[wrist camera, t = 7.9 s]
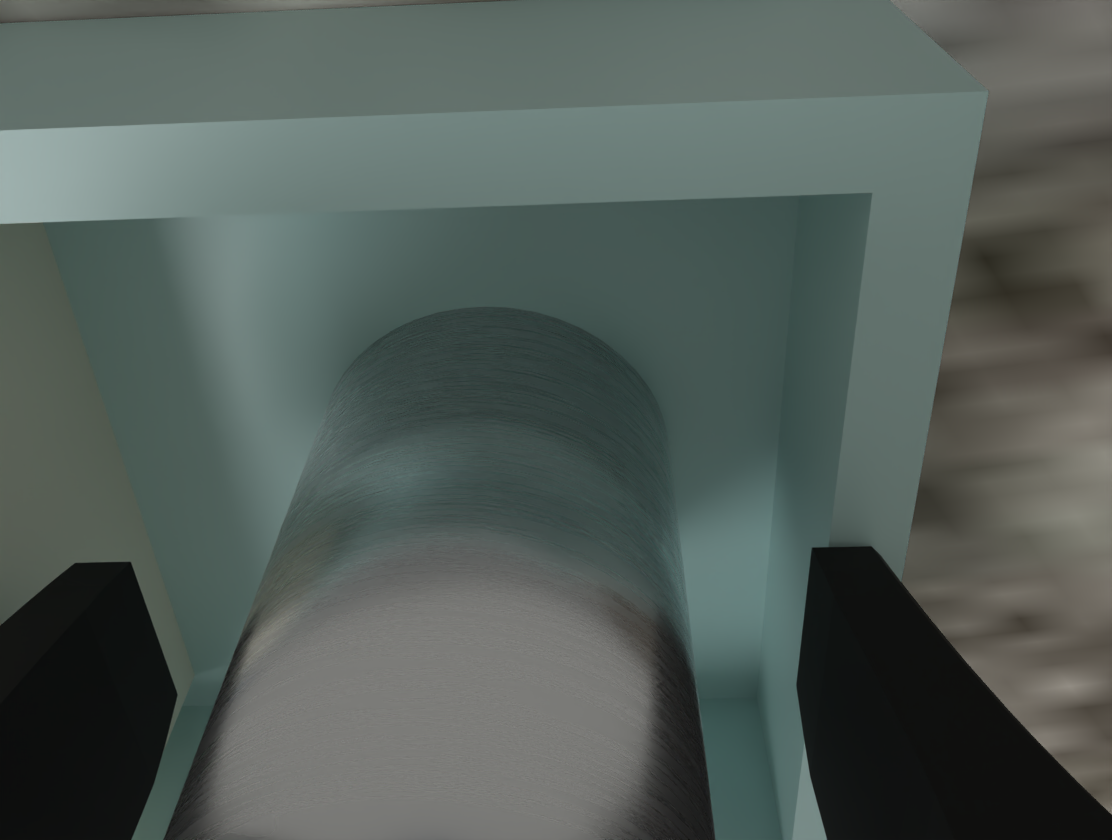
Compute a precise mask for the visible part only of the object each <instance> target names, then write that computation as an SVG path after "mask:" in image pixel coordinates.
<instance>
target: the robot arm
mask: <svg viewBox="0 0 1112 840" xmlns="http://www.w3.org/2000/svg"><path fill="white" fill-rule="evenodd" d="M796 688H797V695H798V701H799V708H800V715H801V722H802V729H803V736H804V742H805V748H806V754H807V760H808V766H809V773H810V778H811V782H812V785H813V789H814V793H815V797H816V801H817V804H818V808H819V812H820V815H821V819H822V823H823V827H824V830H825V834H826V838H827V840H1112V815H1111V814H1110V813H1109V812H1108V811H1107V810H1106V809H1105V808H1104V807H1103V806H1102V805H1101V804H1100V803H1099V802H1098V801H1097V800H1096V799H1095V798H1094V797H1093V796H1092V795H1090V794H1089V793H1088V792H1087V791H1086V790H1085V789H1084V788H1083V787H1082V786H1081V785H1080V784H1079V783H1078V782H1077V781H1076V780H1075V779H1074V778H1073V777H1072V776H1071V775H1070V774H1069V773H1068V772H1067V771H1066V770H1065V769H1064V768H1063V767H1062V766H1061V765H1060V764H1059V763H1058V762H1057V761H1056V760H1055V759H1054V758H1053V756H1052V755H1051V754H1050V753H1049V752H1048V751H1047V750H1046V749H1045V748H1044V747H1043V746H1042V745H1041V744H1040V743H1039V742H1038V741H1037V740H1036V739H1035V738H1034V737H1033V736H1032V735H1031V734H1030V733H1029V732H1028V731H1027V729H1026V728H1025V727H1024V726H1023V725H1022V724H1021V723H1020V722H1019V721H1018V720H1017V719H1016V718H1015V717H1014V716H1013V714H1012V713H1011V712H1010V711H1009V710H1008V709H1007V708H1006V707H1005V706H1004V704H1003V703H1002V702H1001V701H1000V700H999V699H998V698H997V697H996V695H995V694H994V693H993V692H992V691H991V690H990V689H989V687H988V686H987V685H986V684H985V683H984V682H983V681H982V680H981V678H980V677H979V676H978V675H977V674H976V673H975V672H974V671H973V669H972V668H971V667H970V666H969V665H968V664H967V663H966V661H965V660H964V659H963V658H962V657H961V655H960V654H959V653H958V652H957V651H956V650H955V648H954V647H953V646H952V645H951V644H950V642H949V641H948V640H947V639H946V638H945V636H944V635H943V634H942V633H941V631H940V630H939V629H938V628H937V627H936V625H935V624H934V623H933V622H932V620H931V619H930V618H929V617H928V616H927V614H926V613H925V612H924V610H923V609H922V608H921V607H920V605H919V604H918V603H917V602H916V600H915V599H914V598H913V597H912V595H911V594H910V593H909V591H908V590H907V589H906V588H905V586H904V585H903V584H902V582H901V581H900V580H899V579H898V577H897V576H896V575H895V573H894V572H893V571H892V569H891V568H890V567H889V565H888V564H887V563H886V562H885V560H884V559H883V558H882V556H881V555H880V554H879V553H878V552H877V551H876V550H875V549H874V548H873V547H872V546H860V547H812V550H811V558H810V567H809V576H808V585H807V594H806V603H805V612H804V620H803V629H802V638H801V647H800V656H799V665H798V674H797V682H796ZM177 696H178V694H177V691H176V688H175V685H174V682H173V679H172V677H171V674H170V671H169V668H168V665H167V662H166V660H165V657H164V654H163V651H162V648H161V646H160V643H159V640H158V637H157V634H156V631H155V629H154V626H153V623H152V620H151V617H150V614H149V612H148V609H147V606H146V603H145V600H144V597H143V595H142V592H141V589H140V586H139V583H138V581H137V578H136V575H135V572H134V569H133V566H132V564H131V562H87V563H74V564H73V565H72V566H71V567H69V568H68V569H67V570H65V571H64V572H63V573H62V574H60V575H59V576H58V577H57V578H55V579H54V580H53V581H52V582H50V583H49V584H48V585H47V586H46V587H44V588H43V589H42V590H41V591H40V592H39V593H37V594H36V595H35V596H34V597H33V598H31V599H30V600H29V601H28V602H27V603H26V604H24V605H23V606H22V607H21V608H20V609H19V610H17V611H16V612H15V613H14V614H13V615H12V616H11V617H9V618H8V619H7V620H6V621H5V622H4V623H2V624H1V625H0V840H131V839H132V837H133V835H134V832H135V830H136V827H137V825H138V822H139V820H140V817H141V815H142V813H143V810H144V808H145V805H146V803H147V800H148V798H149V795H150V793H151V790H152V787H153V785H154V782H155V779H156V775H157V772H158V768H159V765H160V761H161V758H162V754H163V751H164V747H165V744H166V740H167V736H168V732H169V728H170V724H171V720H172V716H173V712H174V708H175V704H176V700H177Z"/></svg>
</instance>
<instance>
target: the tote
mask: <svg viewBox="0 0 1112 840" xmlns="http://www.w3.org/2000/svg"><path fill="white" fill-rule="evenodd" d="M988 93H989V91H988V90H987V89H986V88H985V87H984V86H983V85H981V84H980V83H979V82H978V81H977V80H976V79H975V78H974V77H973V76H972V75H971V74H969V73H968V72H967V71H966V70H965V69H964V68H963V67H962V66H961V65H960V64H959V63H957V62H956V61H955V60H954V59H953V58H952V57H951V56H950V55H949V54H948V53H946V52H945V51H944V50H943V49H942V48H941V47H940V46H939V45H938V44H937V43H936V42H934V41H933V40H932V39H931V38H930V37H929V36H928V35H927V34H926V33H925V32H924V31H922V30H921V29H920V28H919V27H918V26H917V25H916V24H915V23H914V22H913V21H911V20H910V19H909V18H908V17H907V16H906V15H905V14H904V13H903V12H902V11H901V10H899V9H898V8H897V7H896V6H895V5H894V4H893V3H892V2H891V1H890V0H514V1H491V2H469V3H446V4H424V5H401V6H379V7H356V8H334V9H312V10H289V11H267V12H244V13H222V14H199V15H177V16H154V17H132V18H109V19H87V20H64V21H42V22H19V23H0V224H11V223H39V222H43V224H44V227H45V230H46V233H47V236H48V239H49V242H50V245H51V248H52V251H53V254H54V257H55V260H56V263H57V266H58V269H59V272H60V275H61V278H62V281H63V284H64V287H65V290H66V293H67V296H68V299H69V302H70V305H71V308H72V311H73V314H74V317H75V319H76V322H77V325H78V328H79V331H80V334H81V337H82V340H83V343H84V346H85V349H86V352H87V355H88V358H89V361H90V364H91V367H92V370H93V373H94V376H95V379H96V382H97V385H98V388H99V391H100V394H101V397H102V400H103V403H104V406H105V409H106V412H107V415H108V418H109V421H110V424H111V427H112V430H113V433H114V436H115V439H116V442H117V445H118V447H119V450H120V453H121V456H122V459H123V462H124V465H125V468H126V471H127V474H128V477H129V480H130V483H131V486H132V489H133V492H134V495H135V498H136V501H137V504H138V507H139V510H140V513H141V516H142V519H143V522H144V525H145V528H146V531H147V534H148V537H149V540H150V543H151V546H152V549H153V552H154V555H155V558H156V561H157V564H158V567H159V570H160V572H161V575H162V578H163V581H164V584H165V587H166V590H167V593H168V596H169V599H170V602H171V605H172V608H173V611H174V614H175V617H176V620H177V623H178V626H179V629H180V632H181V635H182V638H183V641H184V644H185V647H186V650H187V653H188V656H189V659H190V662H191V665H192V668H193V671H194V674H195V676H194V678H193V681H192V683H191V686H190V688H189V691H188V693H187V695H186V698H185V700H184V703H183V705H182V708H181V710H180V712H179V715H178V717H177V720H176V722H175V725H174V727H173V730H172V732H171V734H170V737H169V739H168V742H167V744H166V747H165V749H164V752H163V754H162V758H161V761H160V765H159V768H158V772H157V775H156V779H155V782H154V785H153V787H152V790H151V793H150V795H149V798H148V800H147V803H146V805H145V808H144V810H143V813H142V815H141V817H140V820H139V822H138V825H137V827H136V830H135V832H134V835H133V837H132V839H131V840H163V839H164V837H165V834H166V831H167V829H168V826H169V823H170V821H171V818H172V815H173V813H174V810H175V807H176V805H177V802H178V799H179V797H180V794H181V792H182V789H183V786H184V784H185V781H186V778H187V776H188V773H189V770H190V768H191V765H192V762H193V760H194V757H195V754H196V752H197V749H198V747H199V744H200V741H201V739H202V736H203V733H204V731H205V728H206V725H207V723H208V720H209V717H210V715H211V712H212V709H213V707H214V704H215V702H216V699H217V696H218V694H219V691H220V688H221V686H222V683H223V680H224V678H225V675H226V672H227V670H228V667H229V664H230V662H231V659H232V657H233V654H234V651H235V649H236V646H237V643H238V641H239V638H240V635H241V633H242V630H243V627H244V625H245V622H246V619H247V617H248V614H249V612H250V609H251V606H252V604H253V601H254V598H255V596H256V593H257V590H258V588H259V585H260V582H261V580H262V577H263V574H264V572H265V569H266V567H267V564H268V561H269V559H270V556H271V553H272V551H273V548H274V545H275V543H276V540H277V537H278V535H279V532H280V529H281V527H282V524H283V522H284V519H285V516H286V514H287V511H288V508H289V506H290V503H291V500H292V498H293V495H294V492H295V490H296V487H297V484H298V482H299V479H300V477H301V474H302V471H303V469H304V466H305V463H306V461H307V458H308V455H309V453H310V450H311V447H312V445H313V442H314V439H315V437H316V434H317V431H318V429H319V426H320V424H321V421H322V418H323V416H324V413H325V410H326V408H327V405H328V403H329V400H330V398H331V395H332V393H333V391H334V388H335V387H336V385H337V383H338V382H339V380H340V379H341V377H342V375H343V374H344V372H345V371H346V370H347V368H348V367H349V366H350V365H351V364H352V363H353V361H354V360H355V359H356V358H357V357H358V356H359V355H360V354H361V353H362V352H363V351H364V350H366V349H367V348H368V347H369V346H370V345H371V344H372V343H374V342H375V341H376V340H378V339H380V338H381V337H383V336H384V335H386V334H387V333H389V332H390V331H392V330H394V329H396V328H398V327H400V326H402V325H404V324H406V323H408V322H411V321H413V320H415V319H418V318H422V317H425V316H428V315H431V314H434V313H438V312H443V311H448V310H453V309H458V308H470V307H484V306H486V307H507V308H515V309H521V310H527V311H533V312H537V313H541V314H544V315H548V316H551V317H554V318H558V319H560V320H563V321H565V322H567V323H570V324H572V325H575V326H577V327H579V328H581V329H583V330H585V331H587V332H588V333H590V334H592V335H594V336H595V337H597V338H599V339H600V340H602V341H603V342H605V343H606V344H607V345H609V346H610V347H611V348H613V349H614V350H615V351H616V352H618V353H619V354H620V355H621V356H622V357H623V358H624V359H625V360H626V361H627V362H628V363H629V364H630V365H631V366H632V367H633V368H634V369H635V370H636V371H637V372H638V374H639V375H640V376H641V378H642V379H643V380H644V382H645V383H646V384H647V385H648V387H649V389H650V391H651V392H652V394H653V396H654V398H655V400H656V401H657V403H658V405H659V408H660V411H661V413H662V416H663V419H664V422H665V425H666V430H667V435H668V440H669V448H670V456H671V465H672V473H673V482H674V490H675V499H676V507H677V516H678V524H679V533H680V541H681V550H682V558H683V567H684V575H685V584H686V592H687V601H688V609H689V618H690V626H691V635H692V643H693V652H694V661H695V669H696V678H697V686H698V695H699V703H700V712H701V720H702V729H703V737H704V746H705V754H706V763H707V771H708V780H709V788H710V797H711V805H712V814H713V822H714V831H715V839H716V840H827V838H826V834H825V830H824V827H823V823H822V819H821V815H820V812H819V808H818V804H817V801H816V797H815V793H814V789H813V785H812V782H811V778H810V773H809V766H808V760H807V754H806V748H805V742H804V736H803V729H802V722H801V715H800V708H799V701H798V695H797V688H796V682H797V674H798V665H799V656H800V647H801V638H802V629H803V620H804V612H805V603H806V594H807V585H808V576H809V567H810V558H811V550H812V547H860V546H872V547H873V548H874V549H875V550H876V551H877V552H878V553H879V554H880V555H881V556H882V558H883V559H884V560H885V562H886V563H887V564H888V565H889V567H890V568H891V569H892V571H893V572H894V573H895V575H896V576H897V577H898V579H899V580H900V581H902V576H903V570H904V564H905V559H906V553H907V548H908V542H909V536H910V531H911V525H912V520H913V514H914V508H915V503H916V497H917V491H918V486H919V480H920V475H921V469H922V463H923V458H924V452H925V447H926V441H927V435H928V430H929V424H930V418H931V413H932V407H933V402H934V396H935V390H936V385H937V379H938V374H939V368H940V362H941V357H942V351H943V345H944V340H945V334H946V329H947V323H948V317H949V312H950V306H951V301H952V295H953V289H954V284H955V278H956V272H957V267H958V261H959V256H960V250H961V244H962V239H963V233H964V228H965V222H966V216H967V211H968V205H969V199H970V194H971V188H972V183H973V177H974V171H975V166H976V160H977V155H978V149H979V143H980V138H981V132H982V126H983V121H984V115H985V110H986V104H987V98H988Z"/></svg>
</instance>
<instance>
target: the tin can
mask: <svg viewBox="0 0 1112 840" xmlns="http://www.w3.org/2000/svg"><path fill="white" fill-rule="evenodd" d="M163 840H716V839H715V831H714V822H713V814H712V805H711V797H710V788H709V780H708V771H707V763H706V754H705V746H704V737H703V729H702V720H701V712H700V703H699V695H698V686H697V678H696V669H695V661H694V652H693V643H692V635H691V626H690V618H689V609H688V601H687V592H686V584H685V575H684V567H683V558H682V550H681V541H680V533H679V524H678V516H677V507H676V499H675V490H674V482H673V473H672V465H671V456H670V448H669V440H668V435H667V430H666V425H665V422H664V419H663V416H662V413H661V411H660V408H659V405H658V403H657V401H656V400H655V398H654V396H653V394H652V392H651V391H650V389H649V387H648V385H647V384H646V383H645V382H644V380H643V379H642V378H641V376H640V375H639V374H638V372H637V371H636V370H635V369H634V368H633V367H632V366H631V365H630V364H629V363H628V362H627V361H626V360H625V359H624V358H623V357H622V356H621V355H620V354H619V353H618V352H616V351H615V350H614V349H613V348H611V347H610V346H609V345H607V344H606V343H605V342H603V341H602V340H600V339H599V338H597V337H595V336H594V335H592V334H590V333H588V332H587V331H585V330H583V329H581V328H579V327H577V326H575V325H572V324H570V323H567V322H565V321H563V320H560V319H558V318H554V317H551V316H548V315H544V314H541V313H537V312H533V311H527V310H521V309H515V308H507V307H486V306H484V307H470V308H458V309H453V310H448V311H443V312H438V313H434V314H431V315H428V316H425V317H422V318H418V319H415V320H413V321H411V322H408V323H406V324H404V325H402V326H400V327H398V328H396V329H394V330H392V331H390V332H389V333H387V334H386V335H384V336H383V337H381V338H380V339H378V340H376V341H375V342H374V343H372V344H371V345H370V346H369V347H368V348H367V349H366V350H364V351H363V352H362V353H361V354H360V355H359V356H358V357H357V358H356V359H355V360H354V361H353V363H352V364H351V365H350V366H349V367H348V368H347V370H346V371H345V372H344V374H343V375H342V377H341V379H340V380H339V382H338V383H337V385H336V387H335V388H334V391H333V393H332V395H331V398H330V400H329V403H328V405H327V408H326V410H325V413H324V416H323V418H322V421H321V424H320V426H319V429H318V431H317V434H316V437H315V439H314V442H313V445H312V447H311V450H310V453H309V455H308V458H307V461H306V463H305V466H304V469H303V471H302V474H301V477H300V479H299V482H298V484H297V487H296V490H295V492H294V495H293V498H292V500H291V503H290V506H289V508H288V511H287V514H286V516H285V519H284V522H283V524H282V527H281V529H280V532H279V535H278V537H277V540H276V543H275V545H274V548H273V551H272V553H271V556H270V559H269V561H268V564H267V567H266V569H265V572H264V574H263V577H262V580H261V582H260V585H259V588H258V590H257V593H256V596H255V598H254V601H253V604H252V606H251V609H250V612H249V614H248V617H247V619H246V622H245V625H244V627H243V630H242V633H241V635H240V638H239V641H238V643H237V646H236V649H235V651H234V654H233V657H232V659H231V662H230V664H229V667H228V670H227V672H226V675H225V678H224V680H223V683H222V686H221V688H220V691H219V694H218V696H217V699H216V702H215V704H214V707H213V709H212V712H211V715H210V717H209V720H208V723H207V725H206V728H205V731H204V733H203V736H202V739H201V741H200V744H199V747H198V749H197V752H196V754H195V757H194V760H193V762H192V765H191V768H190V770H189V773H188V776H187V778H186V781H185V784H184V786H183V789H182V792H181V794H180V797H179V799H178V802H177V805H176V807H175V810H174V813H173V815H172V818H171V821H170V823H169V826H168V829H167V831H166V834H165V837H164V839H163Z"/></svg>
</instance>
